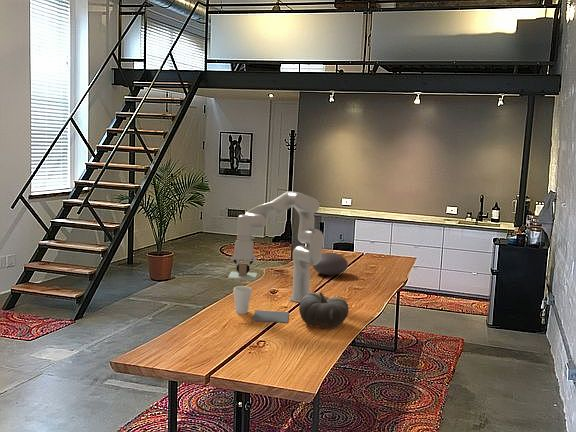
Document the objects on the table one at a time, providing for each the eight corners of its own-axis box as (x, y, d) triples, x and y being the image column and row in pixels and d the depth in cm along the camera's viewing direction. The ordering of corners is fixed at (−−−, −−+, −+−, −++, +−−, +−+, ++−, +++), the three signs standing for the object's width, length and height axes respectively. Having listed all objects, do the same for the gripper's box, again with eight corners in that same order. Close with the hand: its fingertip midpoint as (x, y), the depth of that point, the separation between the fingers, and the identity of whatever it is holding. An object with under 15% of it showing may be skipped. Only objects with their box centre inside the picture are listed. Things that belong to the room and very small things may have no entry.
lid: (257, 274, 342) (257, 261, 341) (254, 280, 328) (255, 267, 327) (231, 272, 342) (231, 260, 341) (227, 278, 328) (228, 265, 327)
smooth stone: (353, 274, 439) (354, 253, 437) (336, 280, 418) (337, 258, 416) (322, 269, 452) (323, 248, 450) (304, 274, 431) (305, 253, 429)
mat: (288, 312, 340) (288, 312, 340) (287, 323, 322) (287, 322, 322) (255, 311, 340) (255, 310, 340) (252, 321, 323) (252, 320, 322)
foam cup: (253, 311, 340) (254, 287, 339) (246, 315, 332) (247, 291, 330) (237, 308, 343) (237, 285, 342) (229, 313, 335) (230, 289, 333)
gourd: (297, 310, 336) (304, 280, 332) (343, 320, 336) (350, 290, 332) (295, 329, 312) (302, 297, 307) (344, 340, 311) (352, 308, 307)
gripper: (260, 238, 336) (259, 271, 338) (229, 236, 336) (228, 270, 339) (259, 240, 328) (258, 275, 331) (227, 238, 329) (226, 273, 331)
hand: (242, 272), depth 335 cm, fingers closed on lid, 4 cm apart
